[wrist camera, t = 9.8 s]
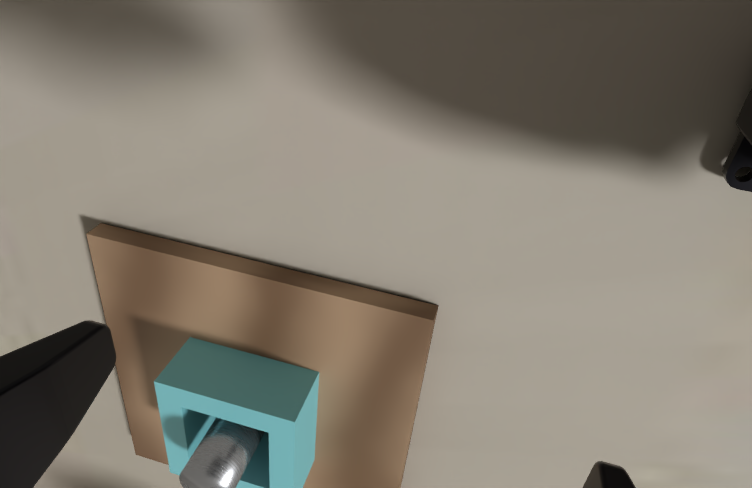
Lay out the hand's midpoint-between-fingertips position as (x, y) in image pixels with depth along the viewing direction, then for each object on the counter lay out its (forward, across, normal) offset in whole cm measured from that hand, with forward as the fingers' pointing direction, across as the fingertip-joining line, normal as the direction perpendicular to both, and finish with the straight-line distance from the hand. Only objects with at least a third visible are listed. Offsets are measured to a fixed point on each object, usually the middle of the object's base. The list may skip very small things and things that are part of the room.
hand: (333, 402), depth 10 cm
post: (+12, +7, +15) cm, 20 cm away
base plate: (+12, +7, +15) cm, 20 cm away
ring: (+11, +7, +15) cm, 20 cm away
